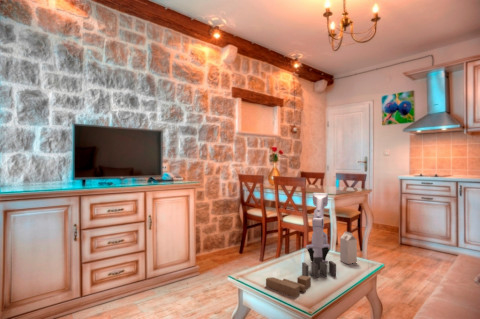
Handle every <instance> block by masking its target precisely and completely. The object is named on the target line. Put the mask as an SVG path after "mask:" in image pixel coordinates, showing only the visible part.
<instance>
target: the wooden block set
mask: <svg viewBox="0 0 480 319" xmlns="http://www.w3.org/2000/svg"><path fill="white" fill-rule="evenodd" d="M311 279H312V276H309V275H308V276H303V275H300V276H298V277H297V278H296V280H297V282H295V281H293V280H290V279H286V278H283V279H280V278H276V277H267V278H265V287H266V286H267V287H266V288H269V289H272V290H276V291H278V292H279V293H280V294H281V293H282V294H284V295H286V296H289V297H292V298H295V299H296V298H297V297H298V296H299V295H300V294H301V293H300V292H302V293H305V292H306V291H307V290H308V288H309V287H311V284H312V283H311V282H312V280H311Z"/></svg>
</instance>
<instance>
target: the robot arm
mask: <svg viewBox="0 0 480 319" xmlns="http://www.w3.org/2000/svg"><path fill="white" fill-rule="evenodd" d="M328 202H329V193H328V192H313V193H312V203H313V206H315V208H314V210H313V218H312V221H311V222H312V223H311V224H312V225H311V226H312V233H311V244H306V245H305V248H306V250H307V252H308V254H309V258H310V261H311V262H313V257H322V261H323V262H324V263H326V262H328V263H329V260H327V259H326V258H327V255H328V253H329V252H330V249H331V244H329V243H328V234H327V233H326V232H325V231H324V227H325V220H324V216H325V215H324V210H325V207H327V206H328Z"/></svg>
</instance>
